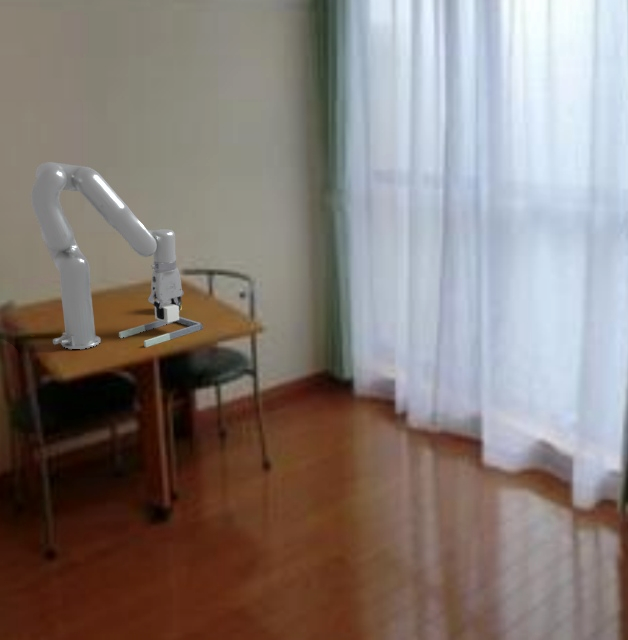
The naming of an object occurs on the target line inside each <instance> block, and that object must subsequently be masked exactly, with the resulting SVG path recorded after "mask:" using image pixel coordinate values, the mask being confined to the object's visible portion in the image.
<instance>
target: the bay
mask: <svg viewBox="0 0 628 640" xmlns="http://www.w3.org/2000/svg"><path fill="white" fill-rule="evenodd" d="M173 322H174V323H177V322H178V323H177V324H180V323H181V325H185V326H187V327H184V328H180V329H178V330H175V331H171V332H168V333H164V334H162V335H158V336H154V337H152V338H149V339H146V340H143V346H144V347H145V348H148V347H151V346H155V345H158V344H160V343H164V342H168V341H170V340H173V339H176V338H180V337H183V336H186V335H189V334H192V333H195V332H198V331H202V330H204V327H203V323H201V322H199V321H194V320H192V319H188V318H185V317H182V316H179V320H177V321H173ZM173 322H169V323H166V322H164V321H161V320H155V321H152V322H148V323H145V324H142V325H138V326H135V327H131V328H128V329H126V330H121V331H119V332H118V337H120V338H119V339H124V338H127V337H131V336H133V335H136V334H140V332H141V333H144V332H147V331H150V330H153V328H154V329H156V328H160V327H163V325H164V326H166V324H167V325H170V324H173ZM146 330H147V331H146ZM143 331H144V332H143ZM123 337H124V338H123Z"/></svg>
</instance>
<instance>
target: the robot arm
mask: <svg viewBox="0 0 628 640" xmlns="http://www.w3.org/2000/svg"><path fill="white" fill-rule="evenodd" d="M35 178H36V180H35V181H34V183H33V185H32V188H31V192H30V202H31V207H32V210H33V213H34V215H35V217H36V220H37V222H38V225H39V228H40V235H41V238H42V240H43V242H44V244H45V247H46V249H47V250H48V252H49V255H50V258H51V259H52V262H53V264H54V266H55V269H57V270H58V275H59V283H60V284H59V285H60V295H61V297H60V298H61V303H62V305H61V307H62V312H63V313H62V314H63V322H64V331H65V332H62V335H61V336H60V337H57V338H56V337H55V338H52V344H53V345H58V344H61V345H62V348H64V347H65V349H66V348H68V349H67V350H72V349H80V350H86V349H85V348H87V349H91V348H90V347H92V348H94V347H97V346H99V345H100V344H101V337H100V336H99V335H96V329H95V328H96V327H95V319H94V310H93V307H94V306H93V298H92V290H91V288H92V287H91V268H90V264H89V261H88V259H87V257H86V256H85V255H84V254H83V253H82V251H81V249H80V248H79V244H78V243H77V241H76V238H75V232H74V229H73V227H72V226H71V225H70V223H69V220H68V218H67V216H66V214H65V211H64V208H63V207H62V204H61V201H60V195H61V193H62V191H63V190H64V191H71V192H80V194H81V195H82V196H83V197H84V199H86V200H87V202H88V203H89V204H90V205H91V207H92V208H94V209H95V211H96V212H97V213H98V214H99V215H100V216H101V218H102V219H103V220H104V221H105V222H106V223H107V224H108V225H110V226H111V227H112V228H113V229H115V230H116V231H117V232H118V233H119V234H120V235H121V237H122V238H123V239H124V240H125V241H126V243H128V245H129V247H130V249H132V251H134V252H135V253H136V254H137V255H138V256H140V257H144V258H148V257H151V256H152V257H153V259H152V260H153V264H152V265H151V269H152V273H151V284H150V285H151V286H150V291H151V292H150V295H149V297H148V299H147V301H148V302H149V303H151V304H152V305H153V306H154V308H155V307H156V312H157V318H159V319H164V309H163V308H162V306H163V301H164V300H168V299H170V301H171V304H174V305H177V304H178V301H179V300H180V298H181V299H182V297H183V295H184V294H185V292H184V290H183V289H182V280H181V275H180V271H179V268H178V267H177V256H176V254H177V253H176V251H177V250H176V234H175V232H174V230H173V229H167V228H165V229H164V228H160V229H156V230H153V229H147V228H146V227H145V226H144V224H143V223H142V222H141V221H140V220H139V219H138V217H137V216H136V215H135V214H134V213H133V212H132V210H131V209H130V207H129V206H128V205H127V204H126V203H125V202H124V201H123V199H122V198H121V197H120V196H119V195H118V194H117V192H116V191H115V190H114V189H113V188H112V187H111V186H110V184H109V183H108V182H107V181H106V180H105V179H104V177H103V176H102V175H101V174H100V173H99V172H98V171H96V170H95V169H93V168H92V167H89V166H83V165H73V164H68V163H59V162H54V161H46V162H43V163H41V164H39V166H37V168H36V171H35ZM99 343H100V344H99ZM96 345H97V346H96ZM93 346H94V347H93Z"/></svg>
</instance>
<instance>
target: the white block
mask: <svg viewBox="0 0 628 640" xmlns="http://www.w3.org/2000/svg"><path fill="white" fill-rule="evenodd" d="M162 308H163V309H164V319H159V318H157V312H156V307H155V306H154V318H155V320H157V321H159V320H161V321H164V322H166V323H169V322H173V321H177V320H179V317H180V311H179V306H177V305H174V304H171V303H167V302H164V303H163V306H162Z"/></svg>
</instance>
